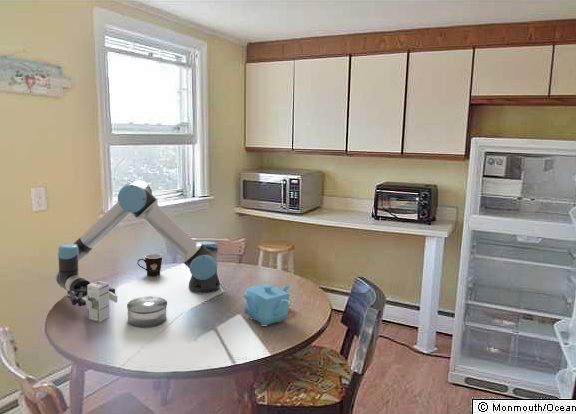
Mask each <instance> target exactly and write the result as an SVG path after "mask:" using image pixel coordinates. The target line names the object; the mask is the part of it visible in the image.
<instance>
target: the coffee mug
mask: <svg viewBox="0 0 576 414" xmlns="http://www.w3.org/2000/svg"><path fill="white" fill-rule="evenodd" d="M140 261H144V263H145V267H144V266H142V265H140V263H139V262H140ZM162 261H163V255H162V254H160V253H159V254H158V253H149V254H146V255H145V256H144V258H140V259H138V260H137V262H136V263H137V265H138V266H139V267H140V268H141V269H143V270H145V271H146V275H147V277H150V278H151V277H153V278H154V277H159V276H160V275H161V270H162V269H161V268H162Z"/></svg>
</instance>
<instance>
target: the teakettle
mask: <svg viewBox="0 0 576 414" xmlns="http://www.w3.org/2000/svg"><path fill="white" fill-rule="evenodd" d="M291 286H292V285H291V284H286V285H285V286H283V287H282V289H280V288H279V287H276V286H274V284H273V285H272V284H271V283H266V284H260V285H252V286H250V287H248V288H245V294H243V295H242V296H241V297H242V298H245V300H244V301H245V303H244V313H245V314H246V316H247V315H248V316H249V317H250V318H252V319H255V320H254V321H256V322H259V323H260V325H261V324H262V325H272V324H274V323H277V322H278V321H281V322H282V321H285V320H287V319H289V318H288V317H289V307H290V306H289V305H290V293H288V292H287V291H288V289H289V288H290V287H291Z"/></svg>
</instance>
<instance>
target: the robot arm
mask: <svg viewBox="0 0 576 414" xmlns="http://www.w3.org/2000/svg"><path fill="white" fill-rule="evenodd" d="M152 192H153V191H152V188H151V186H150V185H149V184H148V183H147V182H145V181H143V180H132V181H131V182H129V183H126V184H125V185H124V186H122V187H121V188H120V190H119V191H118V195H117V202H115V204H113V206H111V208H110V209H108V211H106V212H105V213H104V214H103V215H102V216H101V217H100V218H99V219H98V220H97V221H96V222H94V224H93V225H92V226H90V228H88V229H87V230H86V231H85V232H84V233H83V234H82V235H81V236H80V237H79V238H78V239H77V240H75V242H73V243H64V244H61V245H60V246H59V247H58V252H57V256H58V272H57V274H56V276H55V282H56V284H58V285H59V286H60V288H61V289H62V288H63V289H64V290H66V291H67V298H68V299H70V302H71V304H72V305H73V306H76V305H77V304H78V305H77V306H78V307H83V306H84V307H85V308H87V310H88V309H89V310H90V309H92V302H90V301H89V300H88V298H86V297H88V293H87V285H88V284H90V283H91V282H90V281H89V280H88V279H86V278H84V277H83V276H81V275H79V274H80V273H79V262H80V261H81V260H82V259H83V258H84V257H86V256H88V254H89V253H90V252H91V251H92V250H93V249H94V248H95V247H96V246H98V244H99V243H101V241H103V240H104V239H105V238H106V236H108V235H109V234H110V233H111V232H112V231H113V230H114V229H115V228H116V227H117V226H119V224H121V223H122V222H123V221H124V220H125V219H127V217H128V216H129V215H130V214H132V215H133V216H134V217H135V218H136V219H142V220H143V221H144V222H145V223H146V224H148V225H149V226H150V227H151V228H152V229H153V231H155V233H157V234H158V235H159V236H160V237H161V238H162V239H163V240H164V241H165V242H166V243H168V245H169V246H171V247H172V249H174V250H175V251H176V252H177V253H178V254H179V256H180V257H182V258H181V259H182V263H183V264H184V265H185V266H186V267H187V268H188V269H189V272H190V274H191V277H190V280H189V282H188V289H189V290H190V291H191V292H193V293H199V294H211V293H215V292H217V291H219V290H220V289H221V282H220V278H219V276H218V275H219V274H218V256H219V255H218V254H219V245H218V243H217V242H214V241H195V240H194V239H193V238H192V237H191V236H190V235H189V234H188V233H187V232H186V231H185V230H184V229H183V228H182V227H181V226H179V224H178V223H176V222H175V220H174V219H173V218H172V217H170V216H169V214H167V213H166V211H164V209H163V208H162V207H160V206H159V205H158V198H156V197H155V195H154V194H153V193H152ZM109 301H112V302H113V303H118V295H117V294H116V288H113V287H110V286H109Z"/></svg>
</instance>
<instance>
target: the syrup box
mask: <svg viewBox="0 0 576 414" xmlns="http://www.w3.org/2000/svg"><path fill="white" fill-rule="evenodd" d="M109 287H110V283H109V282H105V281H99V280H95V281H92V282H90V284H88V285H87V293H88V295H87V300H89V301H90V302H92V309H90V310H89V309H88V308H87V319H88V320H90V321H94V322H97V323H102V321H105V320H107V319H108V318H110V299H109Z"/></svg>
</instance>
